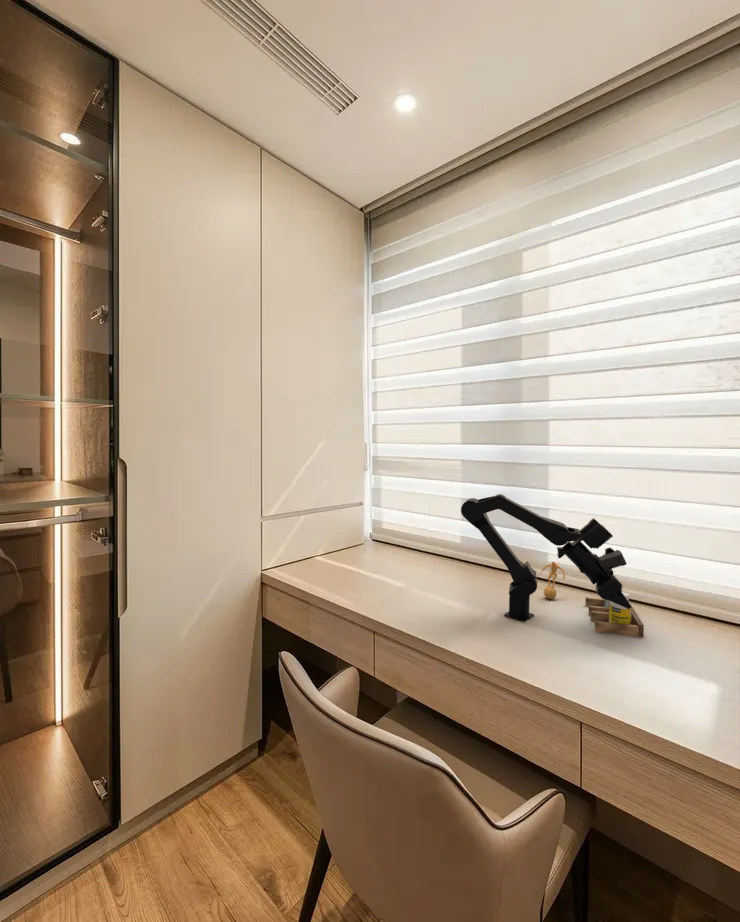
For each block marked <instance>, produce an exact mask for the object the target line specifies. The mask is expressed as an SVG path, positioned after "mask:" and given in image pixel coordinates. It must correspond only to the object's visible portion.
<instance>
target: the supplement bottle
mask: <svg viewBox="0 0 740 922" xmlns="http://www.w3.org/2000/svg"><path fill="white" fill-rule="evenodd" d="M622 593H623V595H624V596H625V597H626V599H627V600H628V601H629V600H630V594H629V593H626V592H623V591H622ZM629 603H630V605H631V606H632V604H631V602H630V601H629ZM609 622H611V623H620V624H629V625H631V608H630V609H627V608H625V607H623V606H620V605H618V604H616V603H613V602H611V601H610V604H609Z"/></svg>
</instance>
